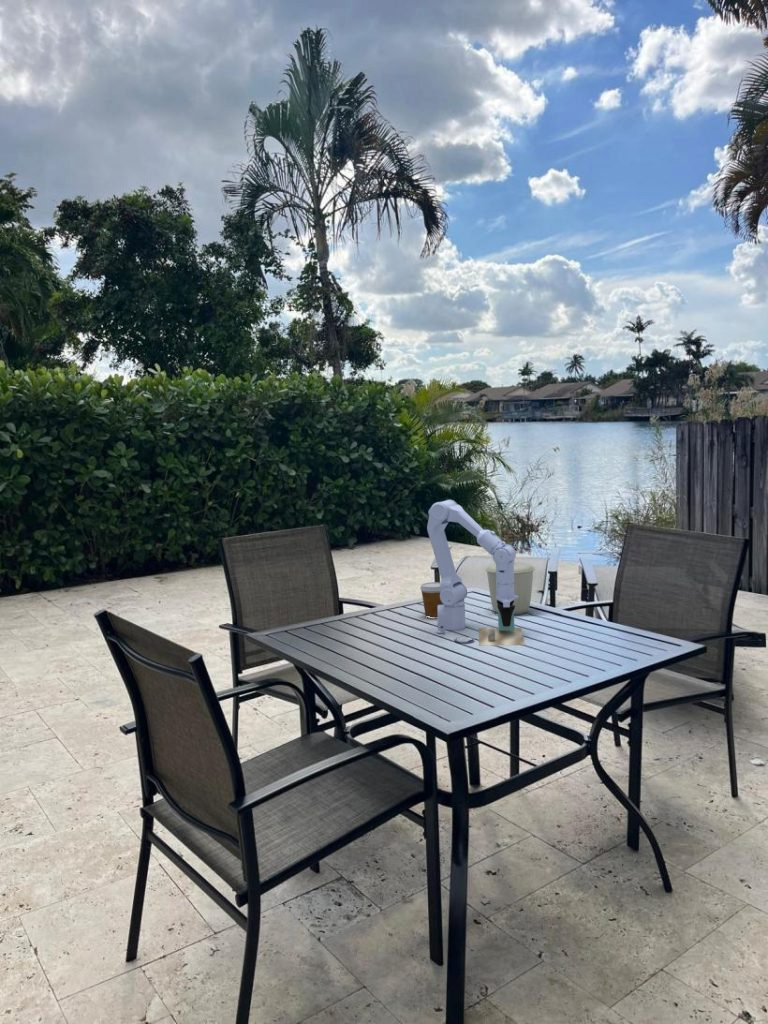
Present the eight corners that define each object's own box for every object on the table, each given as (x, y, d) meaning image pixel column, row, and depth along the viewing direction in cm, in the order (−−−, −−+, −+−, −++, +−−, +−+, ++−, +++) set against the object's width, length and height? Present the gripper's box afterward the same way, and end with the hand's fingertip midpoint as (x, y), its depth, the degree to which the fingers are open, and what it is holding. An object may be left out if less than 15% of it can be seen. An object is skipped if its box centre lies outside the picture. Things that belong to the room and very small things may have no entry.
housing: (498, 630, 235) (498, 612, 234) (498, 626, 240) (497, 608, 239) (514, 630, 234) (514, 612, 234) (513, 626, 239) (513, 608, 239)
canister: (522, 620, 256) (520, 561, 254) (477, 614, 267) (475, 557, 265) (544, 609, 270) (543, 553, 268) (500, 604, 281) (499, 550, 279)
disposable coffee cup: (418, 615, 270) (417, 583, 269) (443, 612, 272) (442, 581, 270) (424, 621, 261) (423, 588, 260) (450, 618, 262) (449, 586, 261)
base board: (479, 649, 224) (478, 634, 223) (478, 631, 243) (478, 618, 243) (525, 648, 222) (525, 633, 221) (521, 631, 242) (520, 617, 241)
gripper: (519, 587, 228) (520, 629, 229) (516, 578, 242) (517, 618, 244) (496, 587, 229) (497, 629, 230) (495, 578, 243) (496, 618, 245)
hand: (506, 623), depth 237 cm, fingers closed on housing, 5 cm apart
